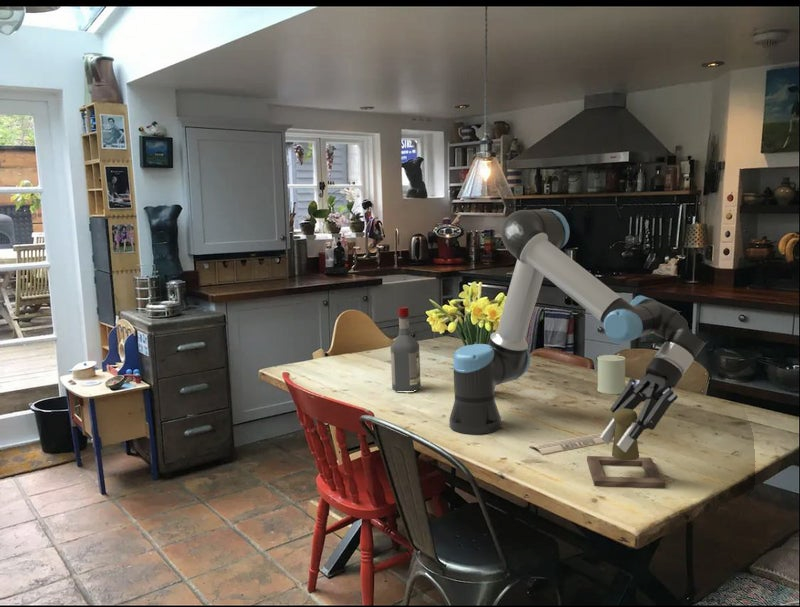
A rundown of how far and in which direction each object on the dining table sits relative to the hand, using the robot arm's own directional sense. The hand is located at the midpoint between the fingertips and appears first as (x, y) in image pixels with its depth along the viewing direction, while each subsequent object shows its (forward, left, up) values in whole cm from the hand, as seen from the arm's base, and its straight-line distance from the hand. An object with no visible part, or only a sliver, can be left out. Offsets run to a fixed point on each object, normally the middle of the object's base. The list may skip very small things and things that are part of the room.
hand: (612, 444), depth 147 cm
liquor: (-61, +74, -8) cm, 96 cm away
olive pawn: (+3, +2, -3) cm, 5 cm away
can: (+10, +75, -8) cm, 76 cm away
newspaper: (-7, +21, -9) cm, 23 cm away
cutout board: (+3, +2, -8) cm, 9 cm away
